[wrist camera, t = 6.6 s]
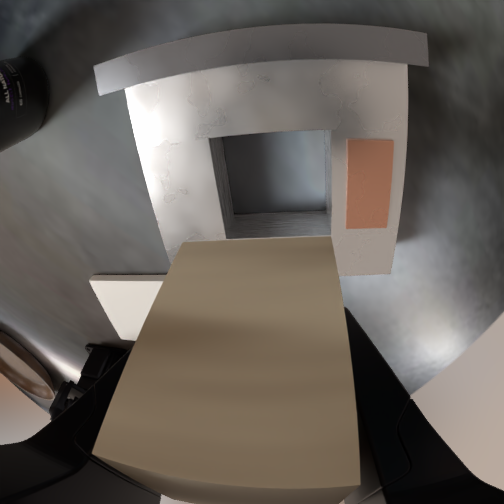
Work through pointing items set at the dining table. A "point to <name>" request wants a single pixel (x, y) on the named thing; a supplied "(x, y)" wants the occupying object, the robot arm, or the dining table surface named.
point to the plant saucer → (24, 369)
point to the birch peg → (240, 379)
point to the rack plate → (275, 129)
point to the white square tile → (127, 300)
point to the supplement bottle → (21, 99)
